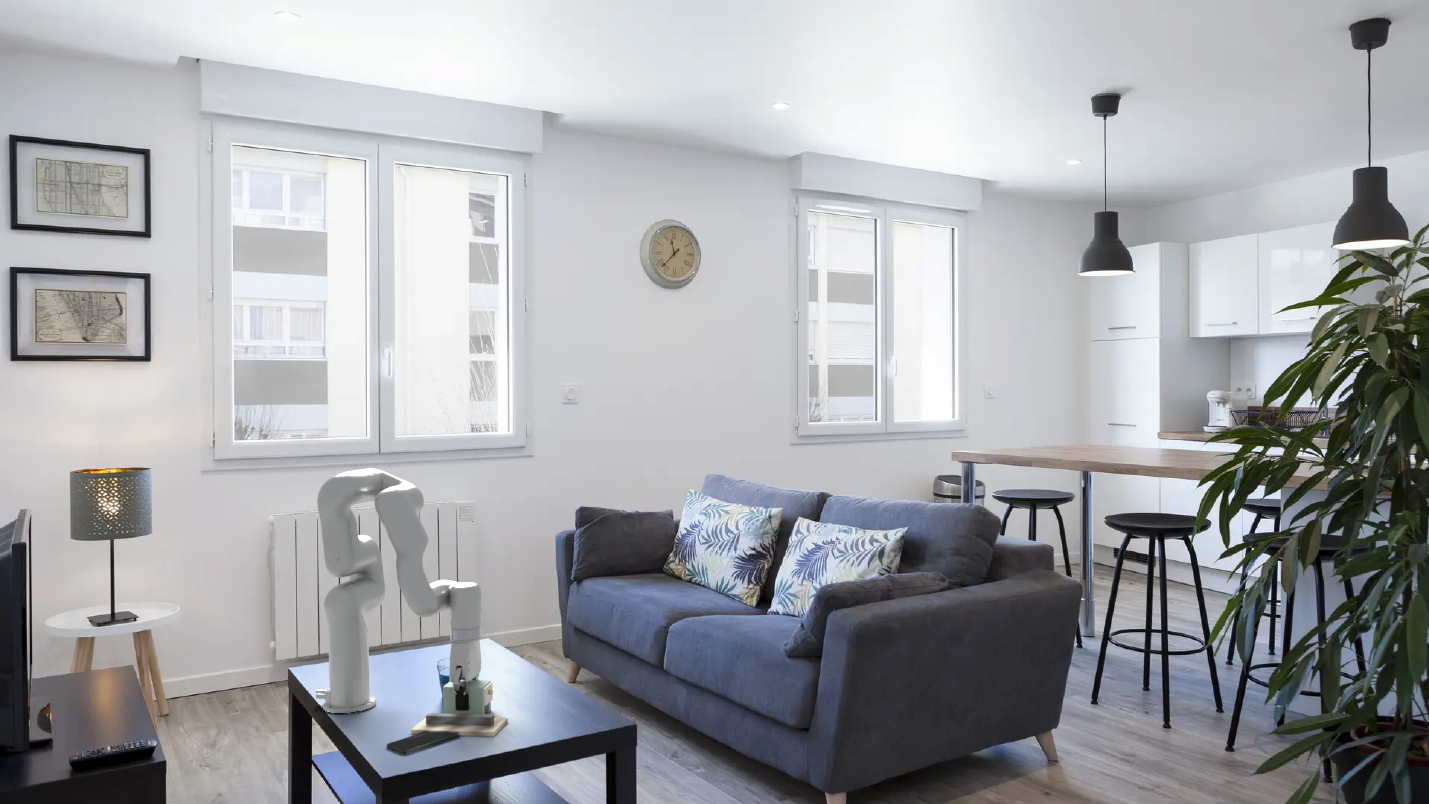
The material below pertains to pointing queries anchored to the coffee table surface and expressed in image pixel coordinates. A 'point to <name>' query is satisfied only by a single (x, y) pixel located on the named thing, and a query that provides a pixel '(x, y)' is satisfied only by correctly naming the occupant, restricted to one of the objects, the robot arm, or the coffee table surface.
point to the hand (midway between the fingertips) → (467, 705)
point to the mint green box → (478, 697)
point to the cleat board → (461, 724)
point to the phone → (421, 742)
